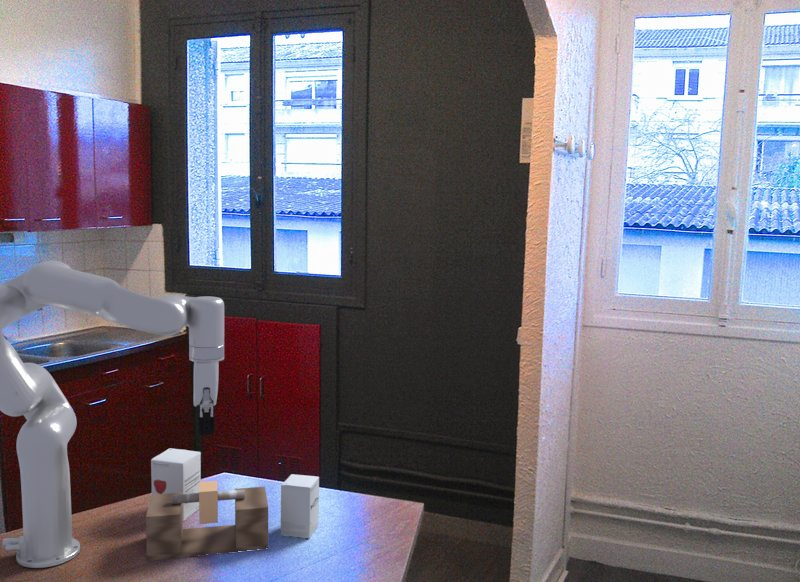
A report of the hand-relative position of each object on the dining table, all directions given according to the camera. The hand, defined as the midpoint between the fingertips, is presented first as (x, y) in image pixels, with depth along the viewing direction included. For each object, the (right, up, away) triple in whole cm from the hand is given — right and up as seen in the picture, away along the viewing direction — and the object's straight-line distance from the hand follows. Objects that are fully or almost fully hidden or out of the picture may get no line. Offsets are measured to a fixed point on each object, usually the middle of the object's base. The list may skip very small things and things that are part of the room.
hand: (206, 427), depth 164 cm
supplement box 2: (+19, -27, +11) cm, 35 cm away
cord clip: (0, -21, +3) cm, 21 cm away
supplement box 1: (-13, -25, +19) cm, 34 cm away
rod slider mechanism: (0, -27, +4) cm, 27 cm away
